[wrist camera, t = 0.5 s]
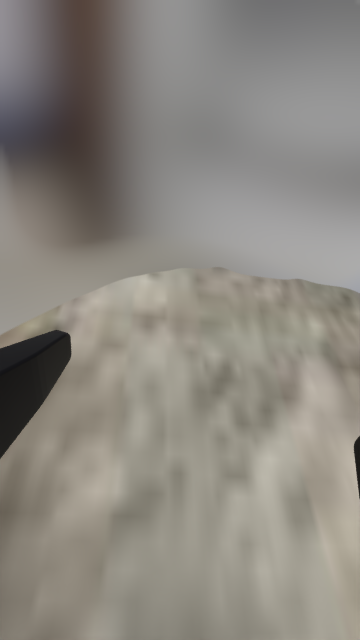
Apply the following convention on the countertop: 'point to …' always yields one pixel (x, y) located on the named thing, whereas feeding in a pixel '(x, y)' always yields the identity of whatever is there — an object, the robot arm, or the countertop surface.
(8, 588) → the countertop surface
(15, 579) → the countertop surface
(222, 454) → the countertop surface
